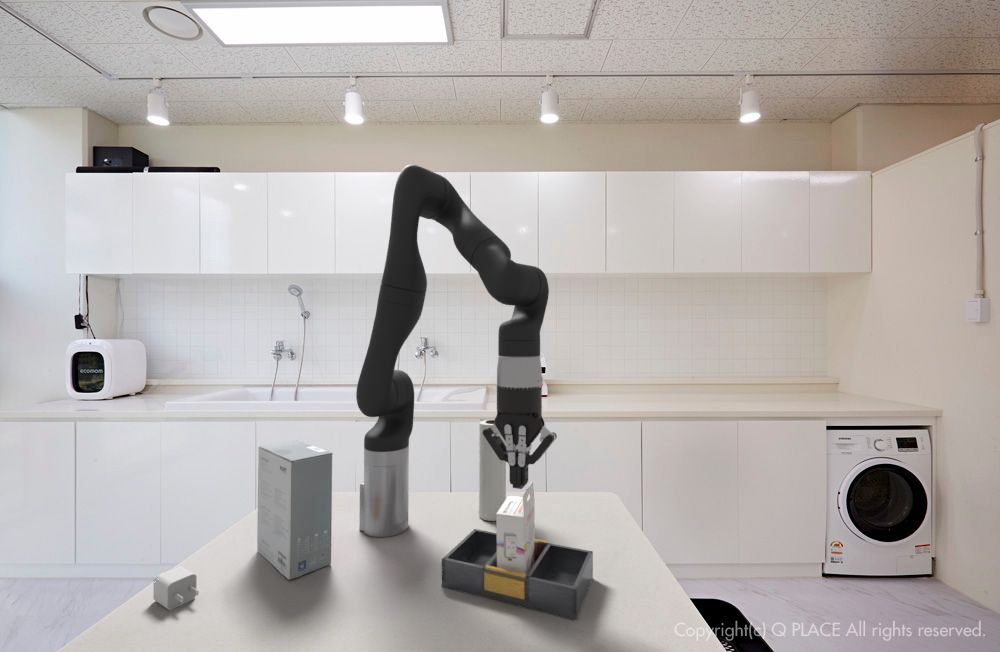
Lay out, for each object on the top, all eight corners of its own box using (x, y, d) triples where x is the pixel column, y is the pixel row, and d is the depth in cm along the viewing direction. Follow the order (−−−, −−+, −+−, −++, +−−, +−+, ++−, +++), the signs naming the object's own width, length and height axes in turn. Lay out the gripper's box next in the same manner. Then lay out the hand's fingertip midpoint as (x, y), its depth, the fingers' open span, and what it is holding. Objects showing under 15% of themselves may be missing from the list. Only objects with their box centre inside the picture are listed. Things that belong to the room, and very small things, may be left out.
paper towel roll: (505, 522, 99) (506, 424, 99) (478, 521, 99) (478, 424, 99) (505, 509, 106) (506, 417, 106) (479, 509, 106) (480, 417, 106)
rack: (440, 588, 73) (440, 558, 73) (474, 553, 85) (474, 527, 85) (575, 622, 64) (575, 588, 65) (592, 578, 76) (592, 549, 76)
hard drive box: (333, 565, 80) (334, 452, 80) (288, 582, 75) (290, 461, 75) (296, 537, 91) (297, 438, 91) (255, 551, 85) (256, 445, 85)
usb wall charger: (182, 590, 72) (182, 564, 72) (204, 603, 69) (205, 577, 69) (153, 602, 69) (153, 576, 69) (175, 617, 65) (175, 589, 65)
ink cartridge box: (507, 561, 80) (507, 477, 80) (535, 564, 79) (535, 480, 79) (494, 587, 71) (495, 494, 72) (525, 592, 70) (525, 497, 70)
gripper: (473, 383, 74) (473, 489, 74) (551, 387, 69) (551, 500, 69) (491, 379, 81) (491, 475, 81) (563, 382, 76) (563, 485, 76)
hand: (519, 487), depth 75 cm, fingers closed
